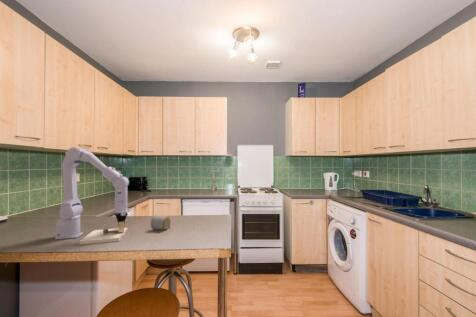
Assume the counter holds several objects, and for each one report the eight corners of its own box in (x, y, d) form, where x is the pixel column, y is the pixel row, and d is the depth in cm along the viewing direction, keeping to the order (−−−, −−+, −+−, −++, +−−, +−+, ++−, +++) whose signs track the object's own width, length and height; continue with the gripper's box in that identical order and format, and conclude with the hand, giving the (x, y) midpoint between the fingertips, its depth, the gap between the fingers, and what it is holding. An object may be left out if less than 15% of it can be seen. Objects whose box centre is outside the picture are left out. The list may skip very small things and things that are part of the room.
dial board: (79, 244, 104) (79, 240, 104) (93, 233, 122) (93, 230, 122) (118, 241, 108) (118, 237, 108) (127, 230, 126) (127, 227, 126)
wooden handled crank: (102, 233, 114) (102, 223, 114) (103, 232, 116) (103, 222, 116) (122, 232, 116) (122, 221, 116) (123, 231, 118) (123, 220, 118)
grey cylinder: (163, 231, 122) (164, 217, 123) (150, 231, 124) (150, 216, 125) (174, 227, 133) (174, 213, 133) (161, 226, 135) (161, 212, 135)
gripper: (132, 201, 116) (132, 229, 115) (127, 198, 128) (127, 223, 127) (116, 203, 112) (116, 231, 111) (112, 199, 124) (112, 225, 123)
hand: (121, 227), depth 119 cm, fingers closed
